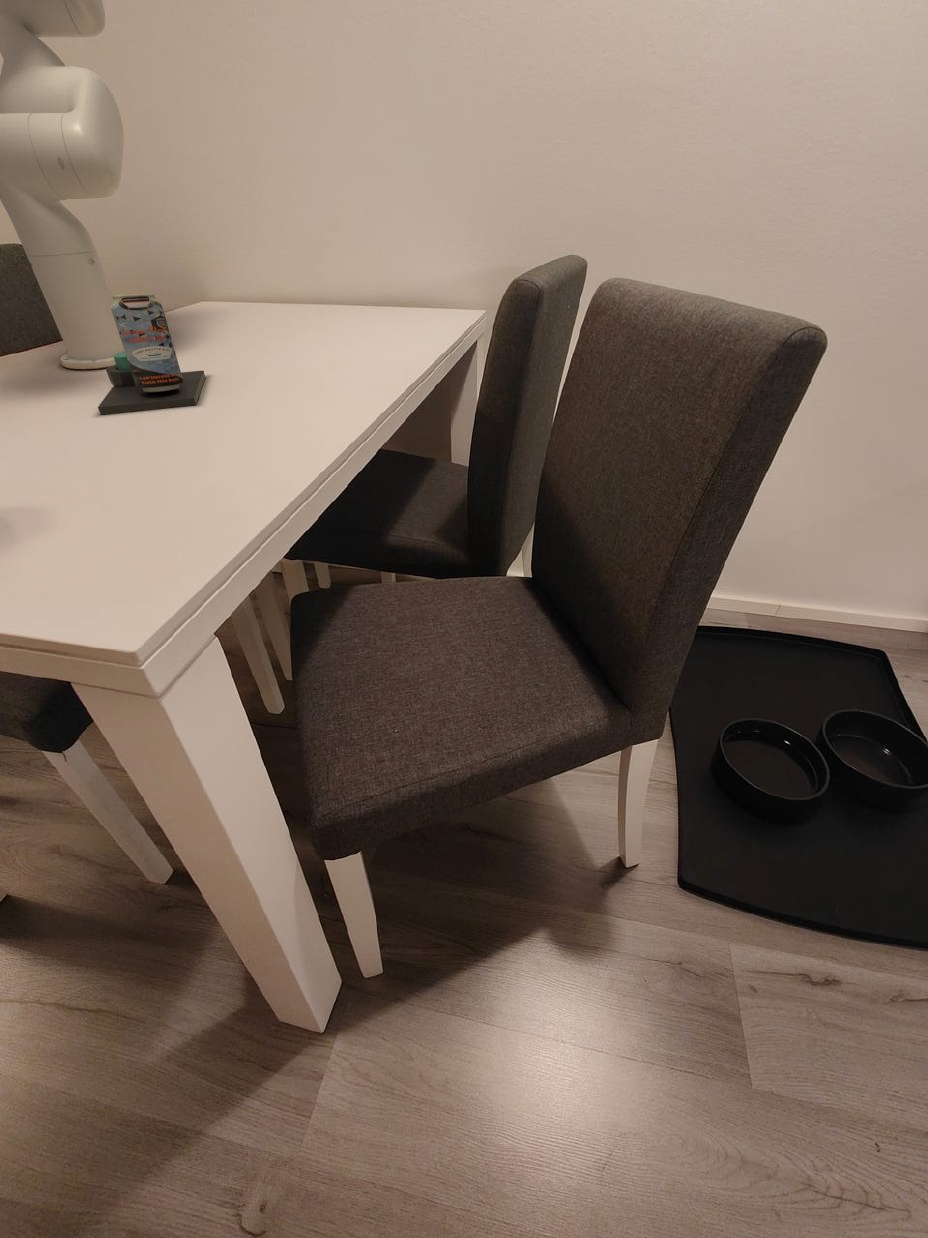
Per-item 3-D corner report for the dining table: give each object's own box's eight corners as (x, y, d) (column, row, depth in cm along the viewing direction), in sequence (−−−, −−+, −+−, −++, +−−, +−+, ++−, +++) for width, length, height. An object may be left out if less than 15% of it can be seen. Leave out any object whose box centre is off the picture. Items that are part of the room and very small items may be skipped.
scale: (119, 384, 86) (111, 363, 84) (205, 376, 88) (199, 355, 86) (96, 415, 75) (87, 391, 73) (196, 405, 77) (189, 382, 75)
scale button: (120, 367, 83) (115, 352, 82) (142, 365, 84) (137, 350, 82) (116, 372, 81) (110, 357, 80) (139, 370, 81) (133, 355, 80)
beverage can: (139, 401, 76) (101, 299, 68) (139, 386, 81) (104, 290, 74) (188, 394, 78) (157, 294, 70) (186, 380, 83) (156, 286, 75)
